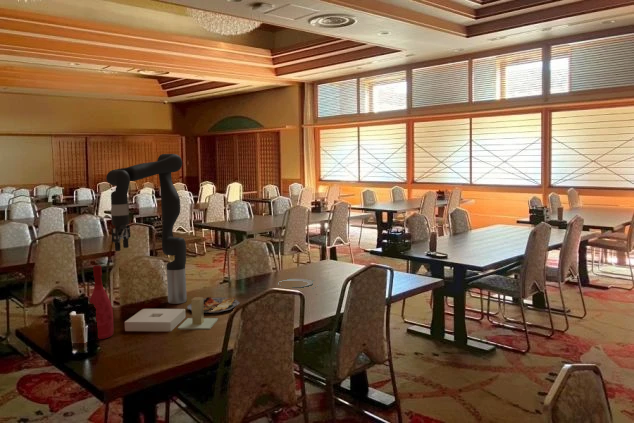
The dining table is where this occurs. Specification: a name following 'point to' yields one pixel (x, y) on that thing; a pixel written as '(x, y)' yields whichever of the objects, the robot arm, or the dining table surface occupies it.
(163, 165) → the robot arm
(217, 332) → the dining table surface
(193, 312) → the tan rectangular block
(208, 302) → the food plate
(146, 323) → the cover plate
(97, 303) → the wine bottle
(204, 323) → the green pad
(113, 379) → the dining table surface
